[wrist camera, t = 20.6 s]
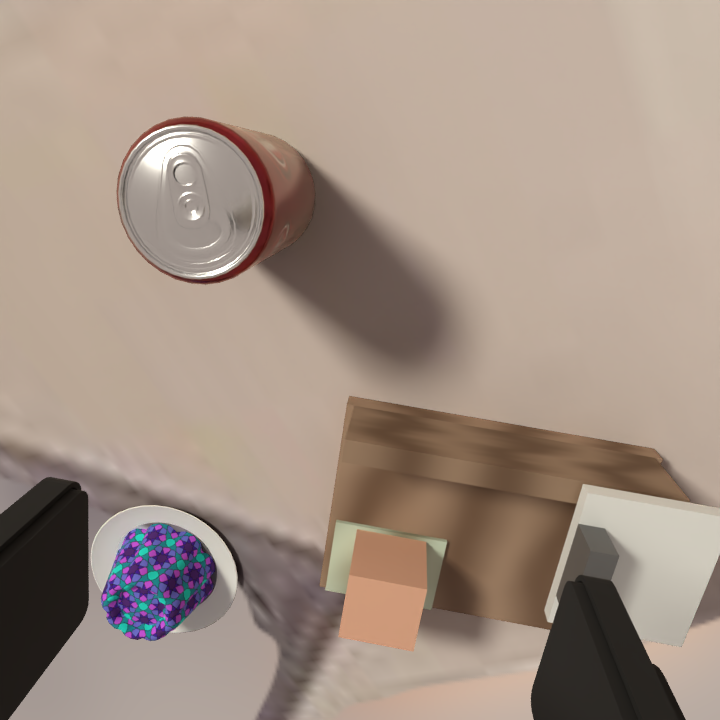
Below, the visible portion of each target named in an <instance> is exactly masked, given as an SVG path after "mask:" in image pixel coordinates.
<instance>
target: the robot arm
mask: <svg viewBox="0 0 720 720" xmlns="http://www.w3.org/2000/svg"><path fill="white" fill-rule="evenodd" d="M88 583H89V582H88V495H87V493H86V492H85V491H81V486H80V484H79V483H77V482H74V481H69V480H63V479H58V478H52V477H47V478H45V479H43V480H42V481H41V482H39V483H38V484H37V485H36V486H35V487H33V488H32V489H31V490H30V491H28V492H27V493H26V494H25V495H24V496H22V497H21V498H20V499H19V500H18V501H16V502H15V503H14V504H13V505H11V506H10V507H9V508H8V509H7V510H5V511H4V512H3V513H2V514H0V720H8V719H9V718H10V716H11V715H12V714H13V712H14V711H15V710H16V709H17V707H18V706H19V705H20V703H21V702H22V701H23V699H24V698H25V697H26V695H27V694H28V693H29V691H30V690H31V689H32V687H33V686H34V685H35V683H36V682H37V680H38V679H39V678H40V676H41V675H42V674H43V672H44V671H45V669H46V668H47V667H48V666H49V664H50V663H51V662H52V660H53V659H54V658H55V656H56V655H57V654H58V652H59V651H60V650H61V648H62V647H63V646H64V644H65V643H66V642H67V640H68V639H69V638H70V636H71V635H72V634H73V632H74V631H75V630H76V628H77V627H78V626H79V624H80V623H81V621H82V620H83V618H84V616H85V614H86V611H87V608H88V601H89V593H88V592H89V590H88V587H89V584H88ZM531 708H532V714H533V718H534V720H686V719H685V717H684V715H683V713H682V711H681V709H680V707H679V705H678V703H677V701H676V699H675V697H674V695H673V693H672V691H671V689H670V687H669V685H668V682H667V681H666V679H665V676H664V675H663V673H662V672H661V670H660V669H659V668H658V667H657V666H656V665H654V664H652V663H651V661H650V659H649V656H648V655H647V653H646V650H645V648H644V646H643V644H642V642H641V640H640V637H639V635H638V633H637V631H636V629H635V627H634V625H633V623H632V621H631V619H630V616H629V614H628V612H627V610H626V608H625V606H624V604H623V602H622V600H621V597H620V595H619V593H618V591H617V589H616V587H615V585H614V583H613V582H612V581H610V580H607V579H602V578H596V577H591V576H585V575H578V577H577V578H576V579H575V582H574V581H567V582H566V584H565V586H564V589H563V592H562V595H561V598H560V602H559V605H558V608H557V611H556V614H555V617H554V621H553V624H552V627H551V630H550V633H549V636H548V640H547V643H546V646H545V649H544V652H543V655H542V659H541V662H540V665H539V668H538V671H537V675H536V678H535V681H534V684H533V688H532V693H531Z"/></svg>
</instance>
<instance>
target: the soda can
mask: <svg viewBox="0 0 720 720" xmlns="http://www.w3.org/2000/svg"><path fill="white" fill-rule="evenodd" d="M117 204H118V210H119V214H120V218H121V222H122V225H123V227H124V229H125V231H126V234H127V236H128V238H129V239H130V241H131V242H132V244H133V245H134V247H135V248H136V250H137V251H138V252H139V253H140V254H141V255H142V257H143V258H144V259H145V260H146V261H147V262H148V263H150V264H151V265H152V266H154V267H155V268H156V269H158V270H159V271H160V272H162V273H164V274H166V275H168V276H170V277H172V278H174V279H176V280H180V281H184V282H187V283H192V284H205V285H206V284H213V283H220V282H223V281H226V280H229V279H232V278H234V277H236V276H238V275H240V274H241V273H243V272H245V271H247V270H248V269H250V268H252V267H253V266H255V265H257V264H259V263H260V262H262V261H264V260H266V259H267V258H269V257H271V256H273V255H274V254H276V253H278V252H279V251H281V250H283V249H285V248H286V247H288V246H290V245H291V244H293V243H294V242H295V241H296V240H297V239H298V238H299V237H300V236H301V235H302V234H303V232H304V231H305V230H306V228H307V227H308V225H309V222H310V220H311V218H312V215H313V210H314V206H315V188H314V182H313V178H312V176H311V173H310V170H309V168H308V166H307V165H306V163H305V161H304V159H303V158H302V157H301V156H300V154H299V153H298V152H297V151H296V150H295V149H294V148H293V147H292V146H290V145H289V144H288V143H287V142H285V141H283V140H281V139H279V138H277V137H275V136H272V135H269V134H265V133H261V132H257V131H253V130H249V129H245V128H241V127H237V126H233V125H229V124H225V123H221V122H217V121H213V120H209V119H205V118H201V117H179V118H173V119H168V120H166V121H164V122H161V123H159V124H156V125H154V126H153V127H151V128H150V129H149V130H147V131H146V132H144V133H143V134H142V135H141V136H140V137H139V138H138V139H137V140H136V141H135V143H134V144H133V145H132V146H131V147H130V149H129V151H128V153H127V155H126V156H125V158H124V160H123V163H122V166H121V169H120V172H119V175H118V183H117Z"/></svg>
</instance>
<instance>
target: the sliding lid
mask: <svg viewBox="0 0 720 720" xmlns="http://www.w3.org/2000/svg"><path fill="white" fill-rule="evenodd" d="M719 555H720V508H717V507H711V506H705V505H700V504H694V503H689V502H683V501H677V500H672V499H666V498H660V497H655V496H649V495H643V494H638V493H632V492H626V491H621V490H615V489H609V488H604V487H598V486H592V485H587V484H583V485H582V489H581V492H580V495H579V499H578V502H577V505H576V508H575V512H574V515H573V518H572V521H571V525H570V528H569V531H568V534H567V538H566V541H565V544H564V547H563V551H562V554H561V557H560V560H559V564H558V567H557V570H556V573H555V577H554V580H553V583H552V586H551V590H550V593H549V596H548V599H547V603H546V606H545V609H544V611H545V615H546V618H547V622H550V623H553V621H554V617H555V614H556V611H557V608H558V605H559V602H560V598H561V595H562V592H563V589H564V586H565V584H566V582H567V581H574V582H575V579H576V578H577V577H578V575H585V576H591V577H596V578H602V579H607V580H610V581H612V582H613V583H614V585H615V587H616V589H617V591H618V593H619V595H620V597H621V600H622V602H623V604H624V606H625V608H626V610H627V612H628V614H629V616H630V619H631V621H632V623H633V625H634V627H635V629H636V631H637V633H638V635H639V637H640V640H646V641H651V642H656V643H662V644H667V645H672V646H678V647H682V645H683V643H684V640H685V638H686V635H687V633H688V630H689V628H690V626H691V623H692V621H693V618H694V616H695V613H696V611H697V609H698V606H699V604H700V601H701V599H702V596H703V594H704V591H705V589H706V587H707V584H708V582H709V579H710V577H711V574H712V572H713V570H714V567H715V565H716V562H717V560H718V557H719Z"/></svg>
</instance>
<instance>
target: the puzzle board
mask: <svg viewBox="0 0 720 720" xmlns="http://www.w3.org/2000/svg"><path fill="white" fill-rule="evenodd" d="M662 460H663V459H662V458H661V457H660V455H659V454H658V453H657V452H656V451H655V450H654V449H652V448H646V447H640V446H635V445H629V444H623V443H617V442H611V441H606V440H600V439H594V438H588V437H583V436H577V435H571V434H565V433H560V432H554V431H548V430H542V429H536V428H531V427H525V426H519V425H513V424H508V423H502V422H496V421H490V420H484V419H479V418H473V417H467V416H461V415H456V414H450V413H444V412H438V411H433V410H427V409H421V408H415V407H409V406H404V405H398V404H392V403H386V402H381V401H375V400H369V399H363V398H357V397H352V396H349V399H348V403H347V407H346V414H345V421H344V427H343V434H342V440H341V447H340V454H339V460H338V467H337V474H336V480H335V487H334V493H333V500H332V507H331V513H330V520H329V526H328V533H327V540H326V546H325V553H324V560H323V566H322V573H321V579H320V586H321V587H326V589H325V590H327V591H333V592H338V593H343V594H346V590H347V584H348V579H349V573H350V567H351V561H352V555H353V550H354V544H355V538H356V532H357V529H360V530H365V531H371V532H376V533H381V534H387V535H392V536H398V537H403V538H408V539H414V540H419V541H425V542H426V552H427V593H426V598H425V602H424V606H423V609H428V610H432V608H438V609H443V610H448V611H454V612H459V613H464V614H470V615H475V616H480V617H486V618H491V619H496V620H501V621H507V622H512V623H517V624H523V625H528V626H533V627H539V628H544V629H549V630H551V627H552V624H553V623H550V622H547V618H546V615H545V611H544V609H545V606H546V603H547V599H548V596H549V593H550V590H551V586H552V583H553V580H554V577H555V573H556V570H557V567H558V564H559V560H560V557H561V554H562V551H563V547H564V544H565V541H566V538H567V534H568V531H569V528H570V525H571V521H572V518H573V515H574V512H575V508H576V505H577V502H578V499H579V495H580V492H581V489H582V485H583V484H587V485H592V486H598V487H604V488H609V489H615V490H621V491H626V492H632V493H638V494H643V495H649V496H655V497H660V498H666V499H672V500H677V501H683V502H690V500H689V498H688V497H687V496H686V495H685V494H684V492H683V491H682V490H681V489H680V488H679V486H678V485H677V484H676V483H675V481H674V480H673V479H672V478H671V477H670V475H669V474H668V473H667V472H666V471H665V469H664V468H663V467H662V466H661V462H662Z"/></svg>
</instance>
